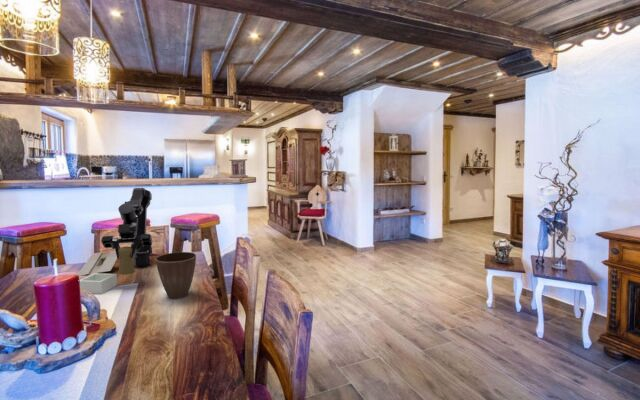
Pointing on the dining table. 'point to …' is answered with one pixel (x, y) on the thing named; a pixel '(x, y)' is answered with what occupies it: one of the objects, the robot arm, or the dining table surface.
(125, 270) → the cork
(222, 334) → the dining table surface
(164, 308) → the dining table surface
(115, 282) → the grey open box
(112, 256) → the grey slanted panel stand
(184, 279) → the plant pot
